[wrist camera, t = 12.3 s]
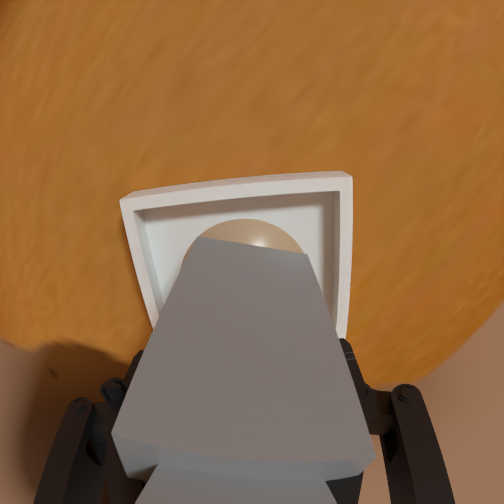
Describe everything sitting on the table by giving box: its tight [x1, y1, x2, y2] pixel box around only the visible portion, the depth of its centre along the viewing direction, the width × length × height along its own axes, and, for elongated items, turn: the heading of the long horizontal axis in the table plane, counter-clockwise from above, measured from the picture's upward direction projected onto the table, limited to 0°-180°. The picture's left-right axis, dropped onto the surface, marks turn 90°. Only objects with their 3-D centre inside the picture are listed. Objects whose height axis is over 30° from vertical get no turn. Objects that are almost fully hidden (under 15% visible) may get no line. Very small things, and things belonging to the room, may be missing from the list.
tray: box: [119, 171, 353, 340], centre depth 21 cm, size 14×14×2 cm
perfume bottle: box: [111, 236, 376, 504], centre depth 11 cm, size 7×7×18 cm
